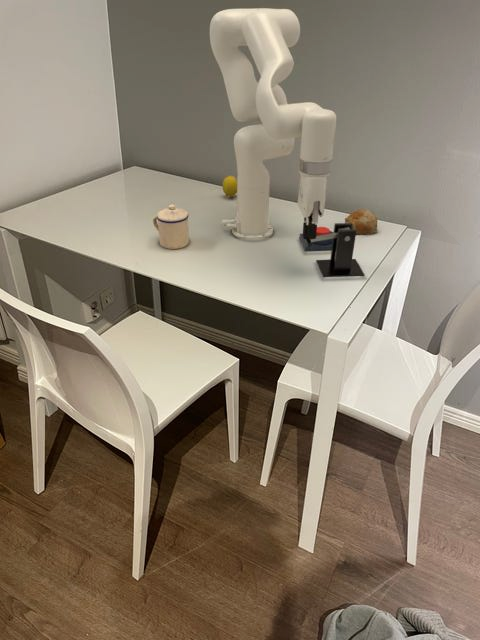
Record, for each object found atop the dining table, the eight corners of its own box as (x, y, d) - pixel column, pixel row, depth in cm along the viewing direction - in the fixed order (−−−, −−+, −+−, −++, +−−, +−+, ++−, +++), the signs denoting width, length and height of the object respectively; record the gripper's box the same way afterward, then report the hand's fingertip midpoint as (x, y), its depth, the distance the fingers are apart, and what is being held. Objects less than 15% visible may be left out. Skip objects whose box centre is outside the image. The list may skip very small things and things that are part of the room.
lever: (308, 249, 126) (307, 241, 124) (304, 240, 130) (303, 231, 129) (352, 241, 125) (352, 232, 124) (347, 232, 130) (347, 224, 129)
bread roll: (369, 247, 153) (384, 226, 148) (340, 231, 152) (355, 210, 147) (368, 234, 161) (383, 214, 156) (341, 219, 160) (355, 198, 155)
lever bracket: (322, 280, 129) (328, 235, 122) (315, 263, 137) (320, 220, 129) (364, 278, 130) (371, 234, 123) (354, 262, 137) (361, 219, 130)
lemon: (222, 194, 180) (222, 172, 175) (237, 194, 180) (237, 172, 175) (223, 200, 175) (222, 178, 170) (238, 200, 175) (238, 177, 171)
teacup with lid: (196, 240, 148) (194, 203, 141) (177, 252, 142) (174, 214, 135) (164, 231, 153) (161, 195, 147) (145, 242, 147) (141, 205, 140)
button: (315, 238, 142) (316, 233, 141) (312, 232, 145) (313, 226, 144) (330, 238, 142) (331, 232, 141) (327, 231, 145) (327, 226, 144)
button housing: (304, 254, 141) (305, 241, 139) (299, 240, 149) (300, 228, 147) (342, 253, 142) (344, 240, 140) (335, 239, 150) (336, 227, 147)
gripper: (294, 157, 122) (289, 226, 133) (305, 176, 110) (299, 251, 120) (324, 156, 123) (317, 225, 133) (338, 176, 111) (330, 250, 121)
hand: (309, 237), depth 127 cm, fingers closed
